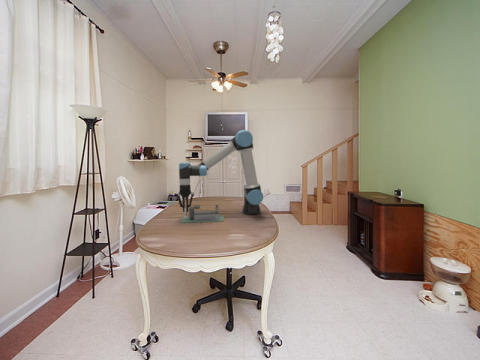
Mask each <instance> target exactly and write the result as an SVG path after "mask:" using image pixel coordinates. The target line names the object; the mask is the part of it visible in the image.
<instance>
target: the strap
mask: <svg viewBox="0 0 480 360" xmlns="http://www.w3.org/2000/svg"><path fill="white" fill-rule="evenodd" d="M197 210H213V211H216V209H215V207H211V208H210V207H200V208H195V211H197Z"/></svg>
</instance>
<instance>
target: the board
mask: <svg viewBox="0 0 480 360" xmlns="http://www.w3.org/2000/svg"><path fill="white" fill-rule="evenodd" d="M180 220H181V221H179V223H180V224H186V223H187V224H188V223H189V224H190V223H214V222H215V223H216V222H218V223H219V222H224V215H223V214H221V215H220V214H219V220H214V221H194V220H190V217H189V216H187V217H185V216H183V217H182V219H180Z"/></svg>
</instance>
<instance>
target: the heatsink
mask: <svg viewBox="0 0 480 360" xmlns="http://www.w3.org/2000/svg"><path fill="white" fill-rule="evenodd" d="M214 208H215V209H216V211H213V210H195V213H194V221H214V220H219V215H220V212H219V205H218V204H216V205H215V207H214Z"/></svg>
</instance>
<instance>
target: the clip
mask: <svg viewBox="0 0 480 360" xmlns="http://www.w3.org/2000/svg"><path fill="white" fill-rule="evenodd" d="M195 208H201V205H194V206H190V207H188V212H189V213H188V214H189V216H188V217H190V220H194V213H195V211H196V210H195Z"/></svg>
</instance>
